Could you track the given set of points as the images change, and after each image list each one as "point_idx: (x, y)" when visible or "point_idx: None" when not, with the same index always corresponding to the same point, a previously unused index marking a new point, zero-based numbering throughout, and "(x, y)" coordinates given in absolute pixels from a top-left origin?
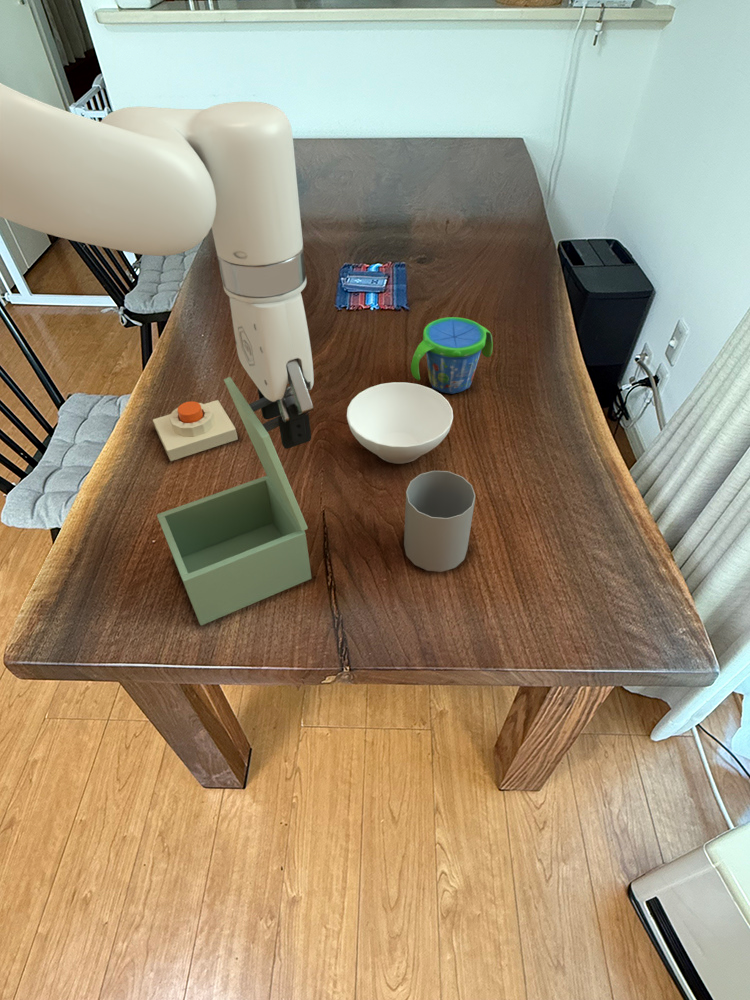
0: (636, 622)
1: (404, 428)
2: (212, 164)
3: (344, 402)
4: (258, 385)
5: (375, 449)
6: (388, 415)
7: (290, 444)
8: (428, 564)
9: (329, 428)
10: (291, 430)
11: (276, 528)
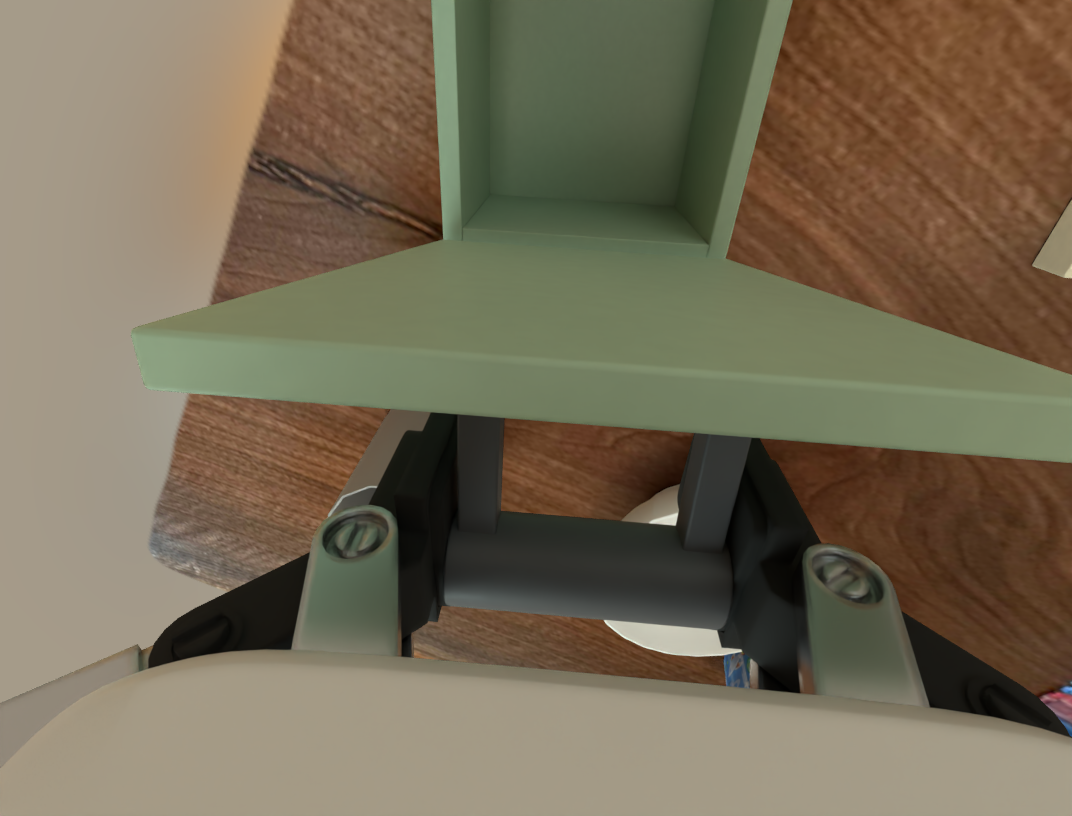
0: (218, 545)
1: None
2: None
3: (888, 514)
4: (394, 737)
5: (662, 502)
6: None
7: None
8: (391, 410)
9: (848, 455)
10: (382, 480)
11: (651, 203)
